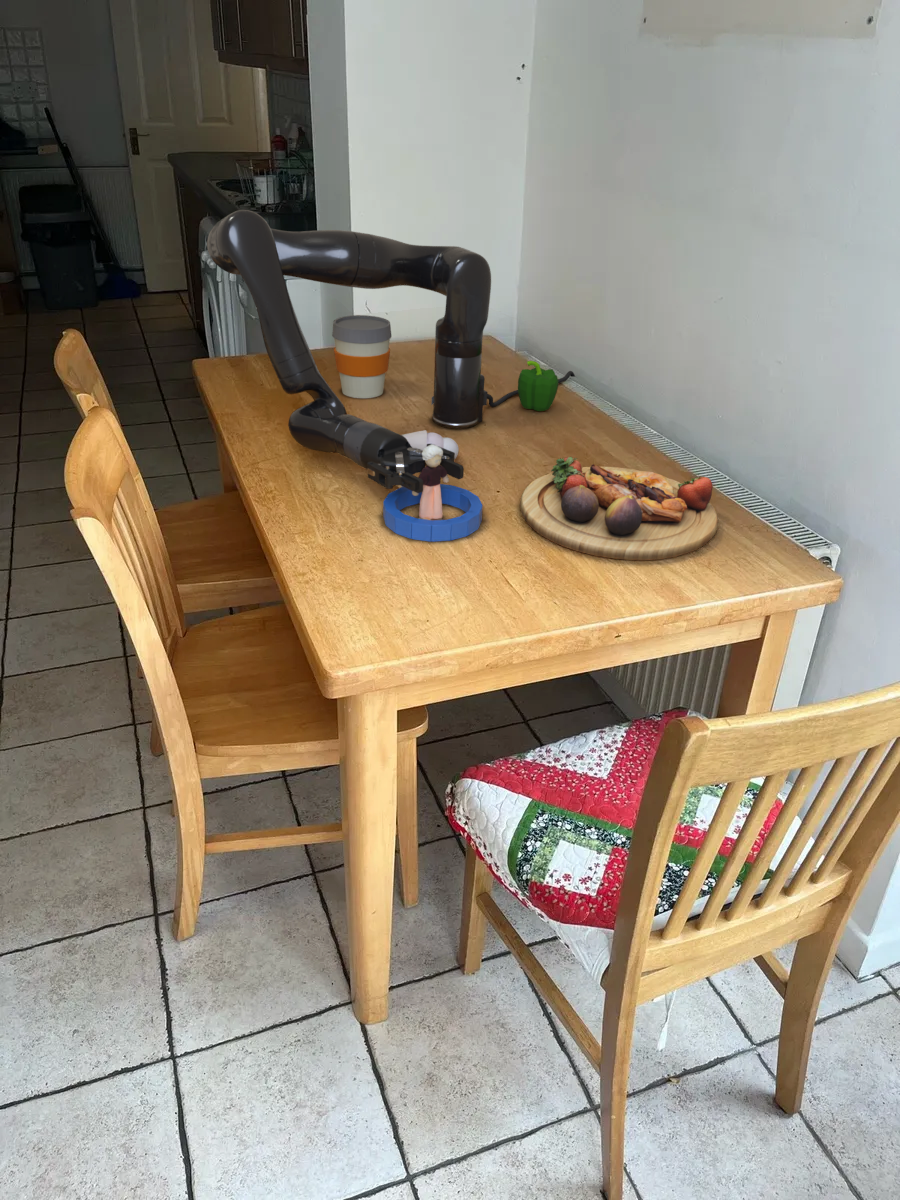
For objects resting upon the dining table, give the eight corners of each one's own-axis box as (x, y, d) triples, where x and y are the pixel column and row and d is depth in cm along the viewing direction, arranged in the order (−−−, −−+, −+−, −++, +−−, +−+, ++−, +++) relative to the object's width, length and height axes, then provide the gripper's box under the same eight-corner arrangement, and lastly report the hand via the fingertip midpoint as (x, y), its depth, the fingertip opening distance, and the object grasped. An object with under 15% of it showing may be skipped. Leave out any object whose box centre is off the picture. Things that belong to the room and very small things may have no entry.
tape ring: (447, 491, 155) (447, 476, 154) (500, 527, 144) (501, 511, 143) (366, 510, 148) (366, 494, 146) (416, 550, 137) (416, 533, 135)
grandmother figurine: (428, 530, 142) (430, 455, 136) (408, 524, 144) (408, 449, 138) (454, 513, 148) (457, 440, 141) (434, 507, 150) (436, 434, 143)
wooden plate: (712, 490, 160) (721, 445, 156) (720, 576, 133) (732, 526, 129) (532, 469, 165) (536, 425, 161) (505, 548, 138) (509, 499, 134)
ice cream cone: (373, 461, 165) (453, 472, 168) (378, 451, 159) (460, 463, 162) (376, 429, 166) (455, 441, 169) (381, 418, 160) (463, 430, 163)
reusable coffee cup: (402, 390, 201) (403, 321, 193) (368, 405, 192) (367, 333, 184) (357, 379, 206) (356, 311, 198) (322, 393, 197) (319, 323, 189)
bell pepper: (561, 406, 196) (566, 360, 190) (547, 417, 189) (551, 369, 184) (525, 398, 199) (529, 353, 194) (510, 409, 192) (513, 363, 187)
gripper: (341, 437, 145) (407, 468, 135) (409, 418, 153) (476, 446, 143) (342, 480, 149) (407, 514, 139) (408, 459, 157) (473, 490, 147)
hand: (442, 480), depth 141 cm, fingers open, 8 cm apart
